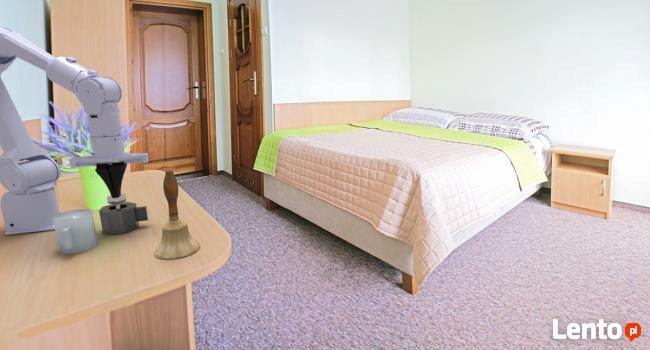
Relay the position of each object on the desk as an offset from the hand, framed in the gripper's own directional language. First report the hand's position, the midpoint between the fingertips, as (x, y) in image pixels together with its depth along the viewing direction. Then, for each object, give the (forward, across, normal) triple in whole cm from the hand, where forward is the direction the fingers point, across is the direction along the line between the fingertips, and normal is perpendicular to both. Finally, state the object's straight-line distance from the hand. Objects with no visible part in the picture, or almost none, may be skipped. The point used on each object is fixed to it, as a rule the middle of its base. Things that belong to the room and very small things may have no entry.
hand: (116, 196), depth 77 cm
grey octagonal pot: (+8, +1, 0) cm, 8 cm away
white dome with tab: (+8, -6, -8) cm, 13 cm away
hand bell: (+8, +13, -16) cm, 22 cm away
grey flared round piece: (+6, 0, 0) cm, 6 cm away
